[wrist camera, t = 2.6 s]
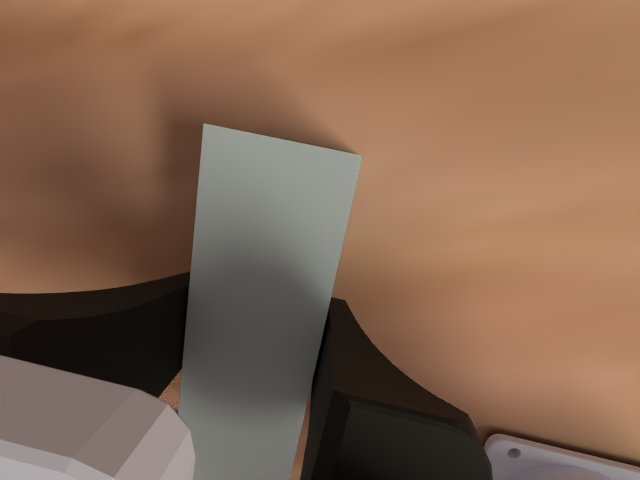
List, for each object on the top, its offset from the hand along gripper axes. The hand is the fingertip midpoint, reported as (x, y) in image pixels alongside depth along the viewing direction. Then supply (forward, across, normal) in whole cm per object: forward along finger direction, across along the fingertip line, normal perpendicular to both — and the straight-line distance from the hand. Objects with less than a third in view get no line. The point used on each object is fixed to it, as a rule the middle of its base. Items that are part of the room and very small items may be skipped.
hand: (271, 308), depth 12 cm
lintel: (+2, 0, 0) cm, 2 cm away
